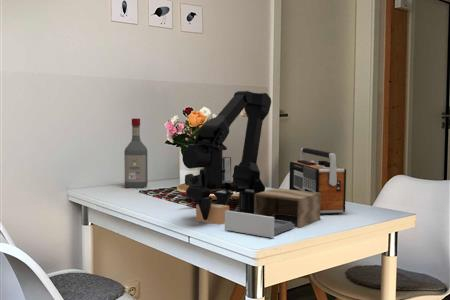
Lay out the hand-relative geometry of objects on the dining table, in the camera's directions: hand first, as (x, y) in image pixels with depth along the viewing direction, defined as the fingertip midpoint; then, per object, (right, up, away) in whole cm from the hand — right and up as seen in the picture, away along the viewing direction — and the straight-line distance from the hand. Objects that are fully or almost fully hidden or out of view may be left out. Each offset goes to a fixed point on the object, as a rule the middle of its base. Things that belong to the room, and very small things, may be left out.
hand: (212, 217), depth 146 cm
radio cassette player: (+35, 0, +23) cm, 42 cm away
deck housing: (+23, -1, +2) cm, 23 cm away
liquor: (-35, +4, +68) cm, 77 cm away
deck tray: (+14, -2, -11) cm, 18 cm away
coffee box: (+1, +1, +37) cm, 37 cm away
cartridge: (0, -1, 0) cm, 1 cm away
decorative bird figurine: (-5, 0, +22) cm, 23 cm away
